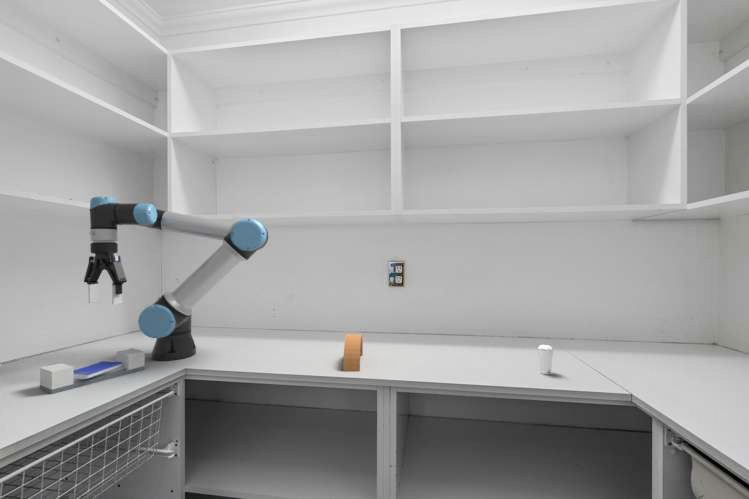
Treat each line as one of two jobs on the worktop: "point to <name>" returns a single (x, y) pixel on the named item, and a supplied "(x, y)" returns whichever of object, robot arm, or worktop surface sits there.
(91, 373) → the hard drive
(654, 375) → the worktop surface
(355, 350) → the arch
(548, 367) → the milkshake
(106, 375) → the rail board
